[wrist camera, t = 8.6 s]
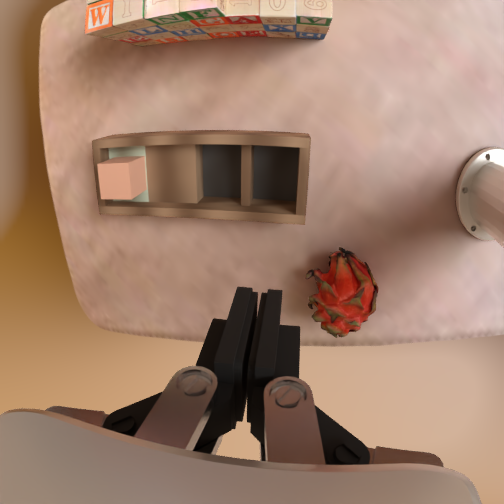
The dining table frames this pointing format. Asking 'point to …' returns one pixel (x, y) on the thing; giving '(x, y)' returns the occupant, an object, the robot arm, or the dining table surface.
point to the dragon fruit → (343, 294)
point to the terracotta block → (122, 177)
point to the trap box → (214, 174)
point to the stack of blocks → (205, 19)
